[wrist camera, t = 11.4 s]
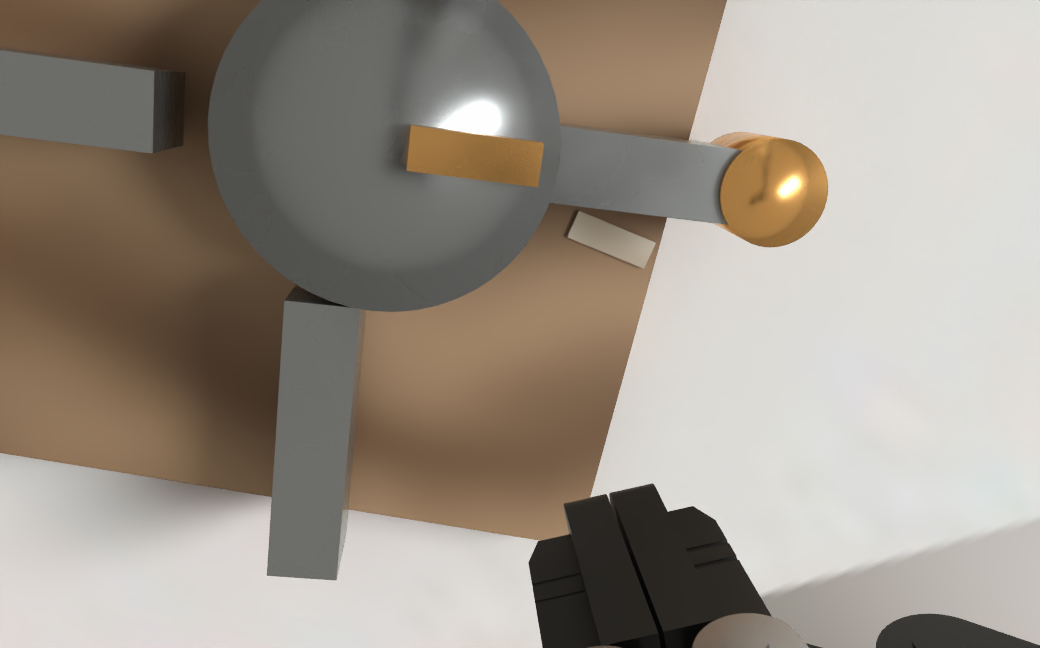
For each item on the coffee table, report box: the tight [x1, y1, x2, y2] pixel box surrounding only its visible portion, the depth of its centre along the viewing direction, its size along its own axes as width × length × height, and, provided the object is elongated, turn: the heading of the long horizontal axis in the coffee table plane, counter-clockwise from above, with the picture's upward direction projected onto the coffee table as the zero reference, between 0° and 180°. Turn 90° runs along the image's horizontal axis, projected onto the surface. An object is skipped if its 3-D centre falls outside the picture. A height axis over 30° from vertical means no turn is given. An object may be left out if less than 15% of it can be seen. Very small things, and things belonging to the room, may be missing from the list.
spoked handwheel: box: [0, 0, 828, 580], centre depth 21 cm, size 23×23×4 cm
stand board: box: [0, 0, 727, 540], centre depth 23 cm, size 22×18×2 cm
